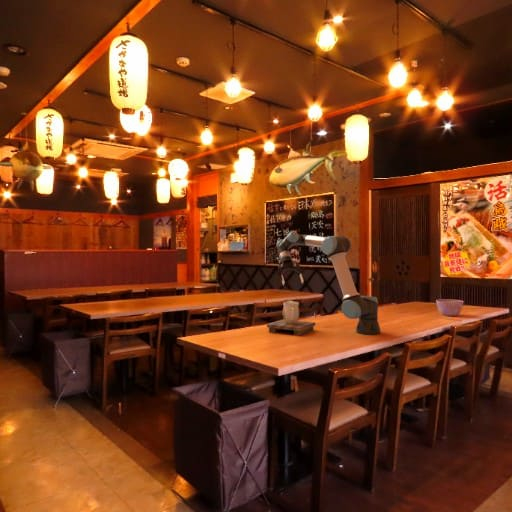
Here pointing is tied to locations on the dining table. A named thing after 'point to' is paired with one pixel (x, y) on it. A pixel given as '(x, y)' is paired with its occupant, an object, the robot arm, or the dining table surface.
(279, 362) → the dining table surface
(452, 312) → the purple bowl
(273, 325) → the serving board
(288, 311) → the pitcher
